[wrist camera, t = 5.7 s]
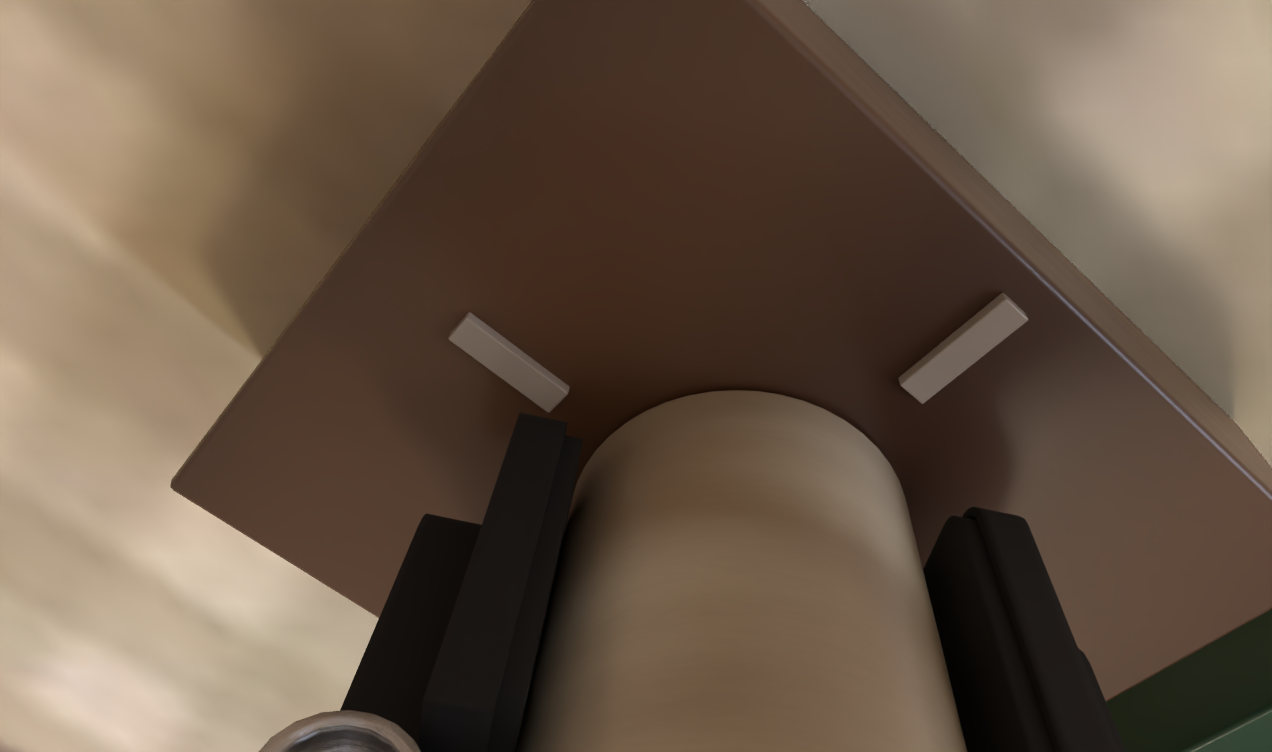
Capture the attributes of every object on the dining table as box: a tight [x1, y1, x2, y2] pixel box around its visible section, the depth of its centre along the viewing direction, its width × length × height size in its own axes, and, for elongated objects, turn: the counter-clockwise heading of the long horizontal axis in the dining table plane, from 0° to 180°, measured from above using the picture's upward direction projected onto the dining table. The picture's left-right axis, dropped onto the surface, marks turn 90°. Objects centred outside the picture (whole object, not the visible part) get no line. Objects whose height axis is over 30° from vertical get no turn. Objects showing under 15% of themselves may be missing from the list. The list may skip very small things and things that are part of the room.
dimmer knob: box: [516, 390, 968, 752], centre depth 9 cm, size 4×4×5 cm
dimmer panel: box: [170, 0, 1272, 702], centre depth 13 cm, size 11×9×3 cm
